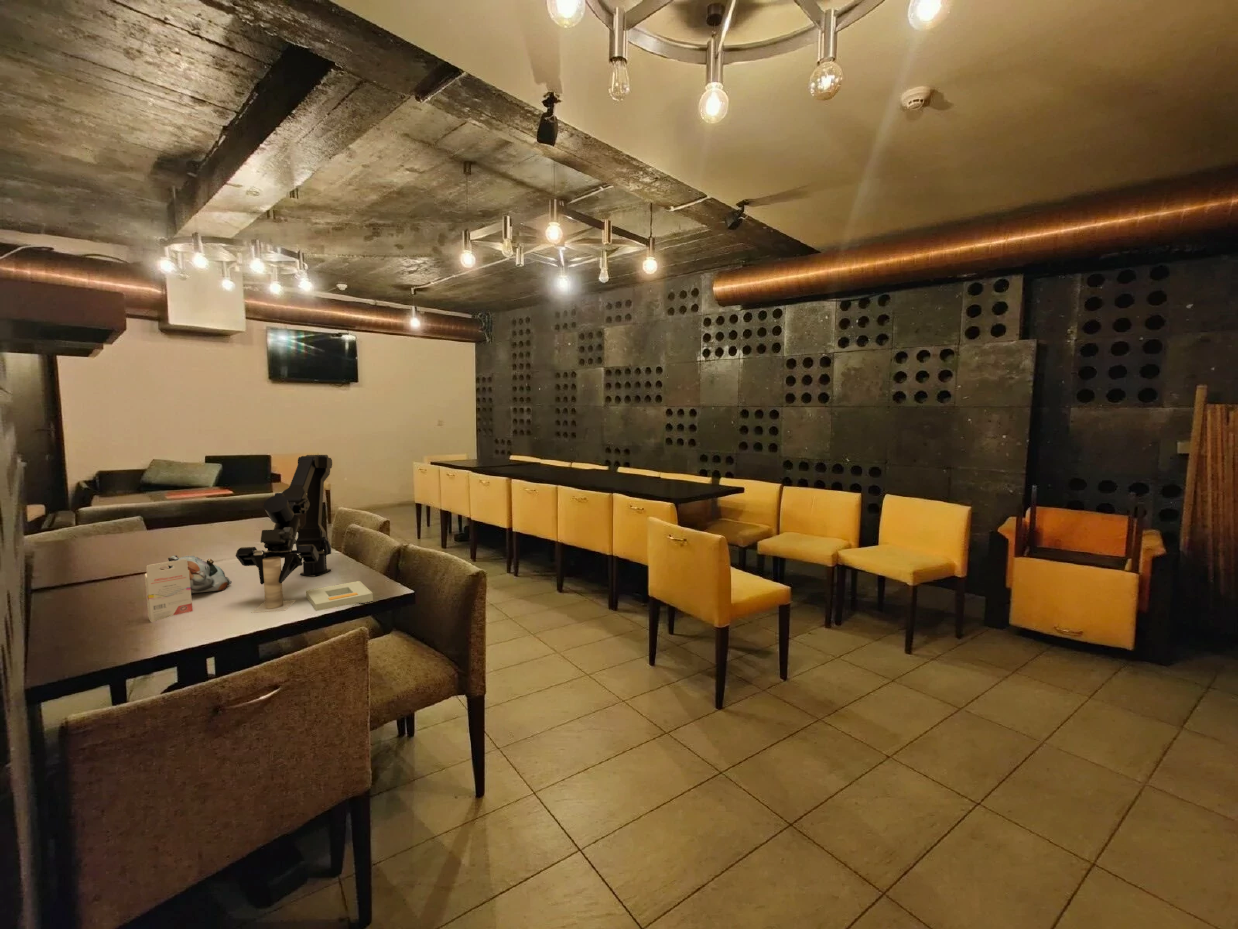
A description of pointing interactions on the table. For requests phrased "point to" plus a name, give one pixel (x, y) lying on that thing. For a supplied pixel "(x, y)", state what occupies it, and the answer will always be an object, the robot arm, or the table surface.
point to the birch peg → (272, 582)
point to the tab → (285, 606)
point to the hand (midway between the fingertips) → (270, 583)
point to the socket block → (338, 595)
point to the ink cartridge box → (168, 590)
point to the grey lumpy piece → (204, 574)
